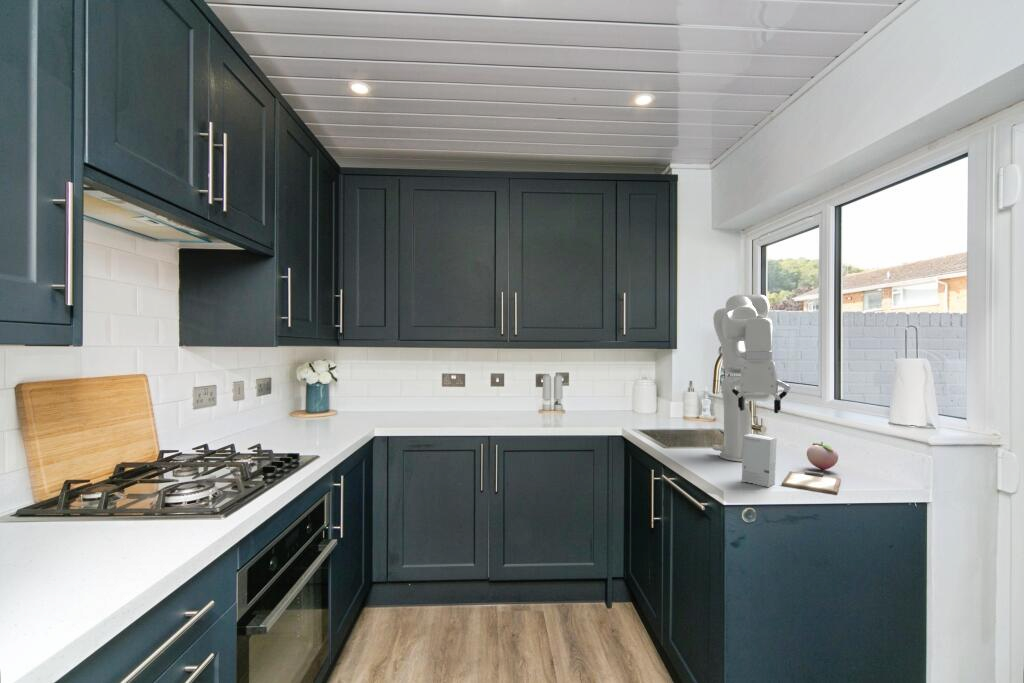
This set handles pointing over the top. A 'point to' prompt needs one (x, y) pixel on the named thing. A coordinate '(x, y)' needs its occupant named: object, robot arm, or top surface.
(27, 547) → the top surface
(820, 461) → the decorative fruit
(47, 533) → the top surface
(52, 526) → the top surface
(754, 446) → the skincare box
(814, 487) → the clipboard
